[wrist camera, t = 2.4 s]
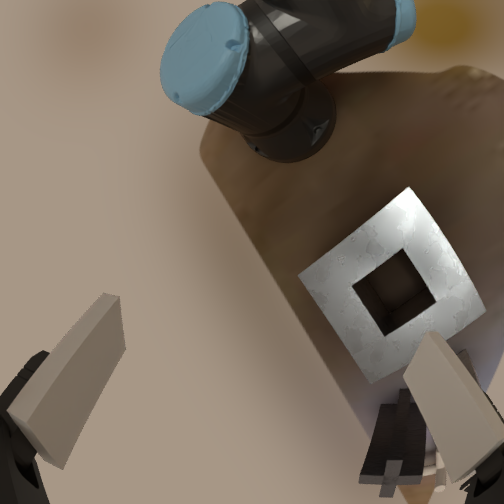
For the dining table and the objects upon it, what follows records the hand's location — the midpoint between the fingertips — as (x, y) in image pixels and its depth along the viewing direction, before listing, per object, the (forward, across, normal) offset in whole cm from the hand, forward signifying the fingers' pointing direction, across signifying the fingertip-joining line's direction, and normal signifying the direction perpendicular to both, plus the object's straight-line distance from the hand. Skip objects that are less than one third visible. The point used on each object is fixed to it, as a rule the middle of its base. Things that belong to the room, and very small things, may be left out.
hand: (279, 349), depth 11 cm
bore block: (+23, +19, -6) cm, 30 cm away
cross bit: (+16, +26, -24) cm, 39 cm away
